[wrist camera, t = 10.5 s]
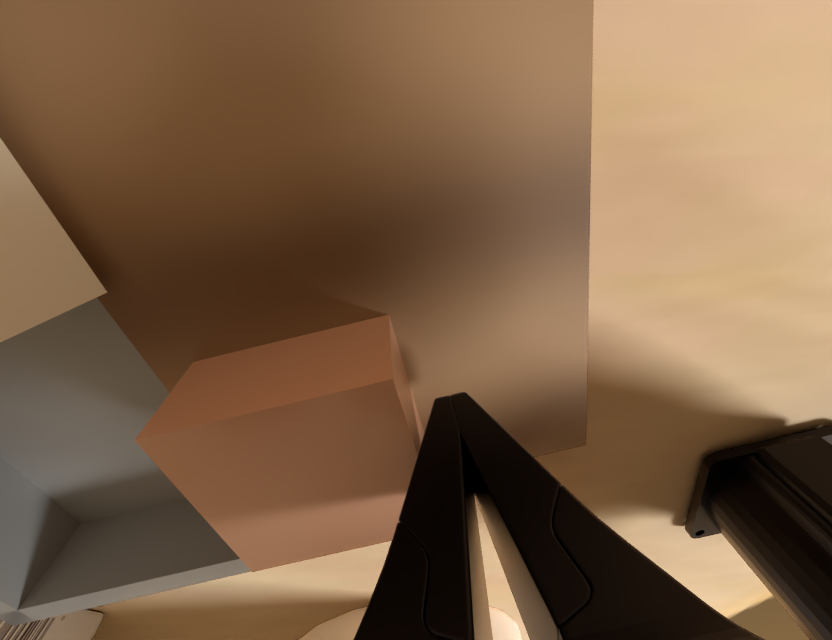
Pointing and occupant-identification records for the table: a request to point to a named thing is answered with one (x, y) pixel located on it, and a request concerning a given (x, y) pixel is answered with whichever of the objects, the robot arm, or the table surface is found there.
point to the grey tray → (88, 477)
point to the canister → (340, 631)
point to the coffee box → (55, 627)
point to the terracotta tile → (294, 443)
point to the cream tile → (35, 257)
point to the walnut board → (326, 180)
